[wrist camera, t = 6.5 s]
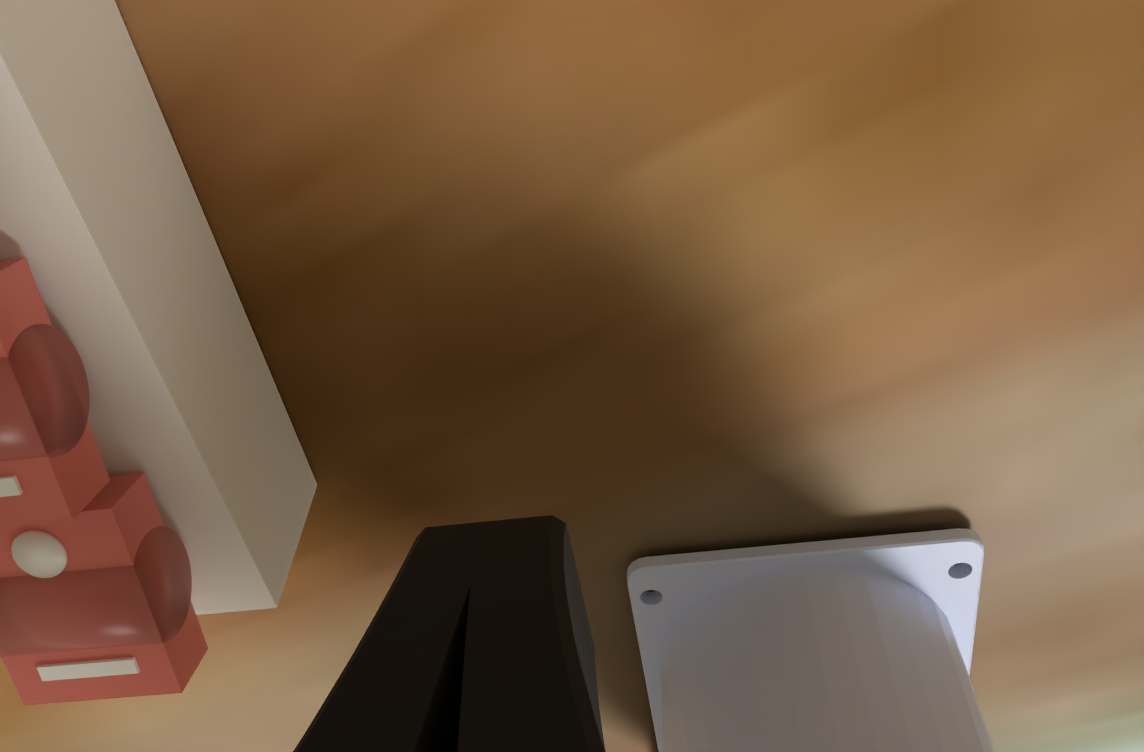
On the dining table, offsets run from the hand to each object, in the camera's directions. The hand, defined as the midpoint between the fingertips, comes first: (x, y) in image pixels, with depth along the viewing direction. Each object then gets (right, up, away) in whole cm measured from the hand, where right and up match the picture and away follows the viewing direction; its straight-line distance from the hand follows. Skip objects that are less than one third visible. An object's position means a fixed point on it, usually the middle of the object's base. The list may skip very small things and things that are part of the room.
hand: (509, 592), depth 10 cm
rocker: (-8, -2, +8) cm, 11 cm away
